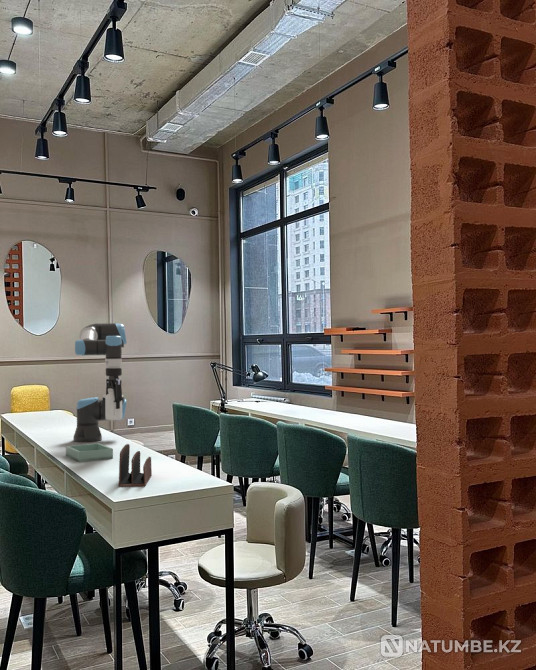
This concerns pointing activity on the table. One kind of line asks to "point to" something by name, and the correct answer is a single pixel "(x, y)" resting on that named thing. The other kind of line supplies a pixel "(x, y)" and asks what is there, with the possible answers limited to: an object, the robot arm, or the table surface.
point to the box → (89, 452)
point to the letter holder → (133, 469)
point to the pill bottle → (111, 406)
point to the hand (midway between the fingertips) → (113, 414)
